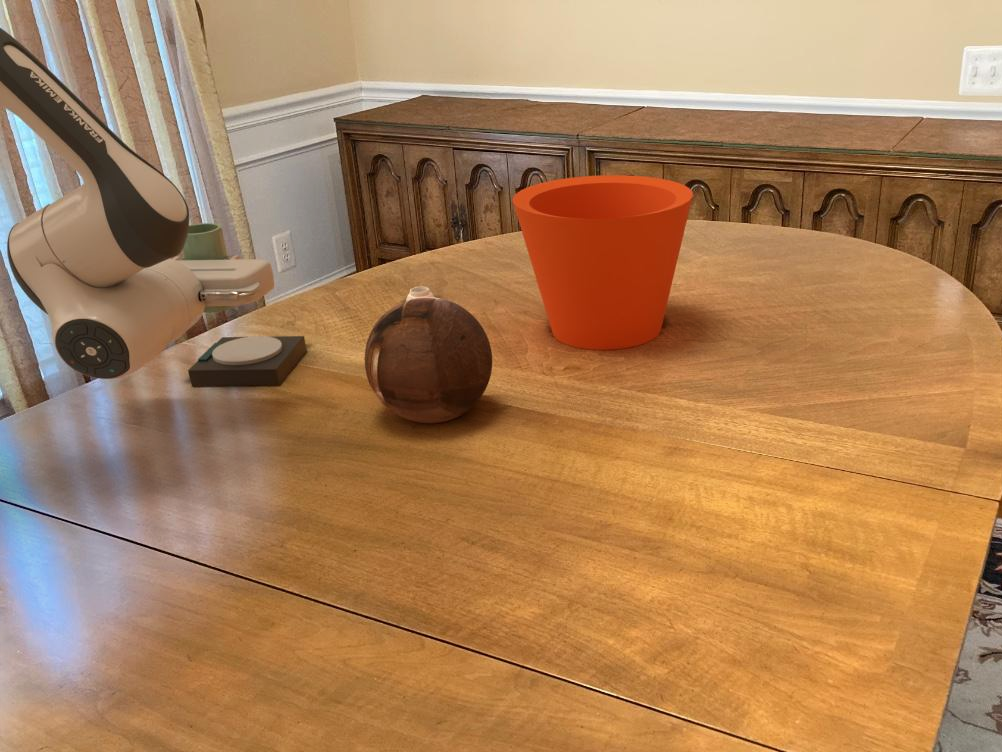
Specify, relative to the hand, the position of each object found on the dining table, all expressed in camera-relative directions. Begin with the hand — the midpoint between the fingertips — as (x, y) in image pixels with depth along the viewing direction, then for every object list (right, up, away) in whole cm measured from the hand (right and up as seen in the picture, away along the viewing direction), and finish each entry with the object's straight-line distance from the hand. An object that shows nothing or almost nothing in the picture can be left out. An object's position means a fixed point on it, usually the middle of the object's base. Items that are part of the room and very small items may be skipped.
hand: (209, 261), depth 123 cm
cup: (0, -5, +2) cm, 6 cm away
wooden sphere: (+29, -20, -3) cm, 35 cm away
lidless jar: (+21, -1, +33) cm, 39 cm away
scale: (+1, -12, +13) cm, 18 cm away
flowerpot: (+50, -6, +22) cm, 55 cm away
